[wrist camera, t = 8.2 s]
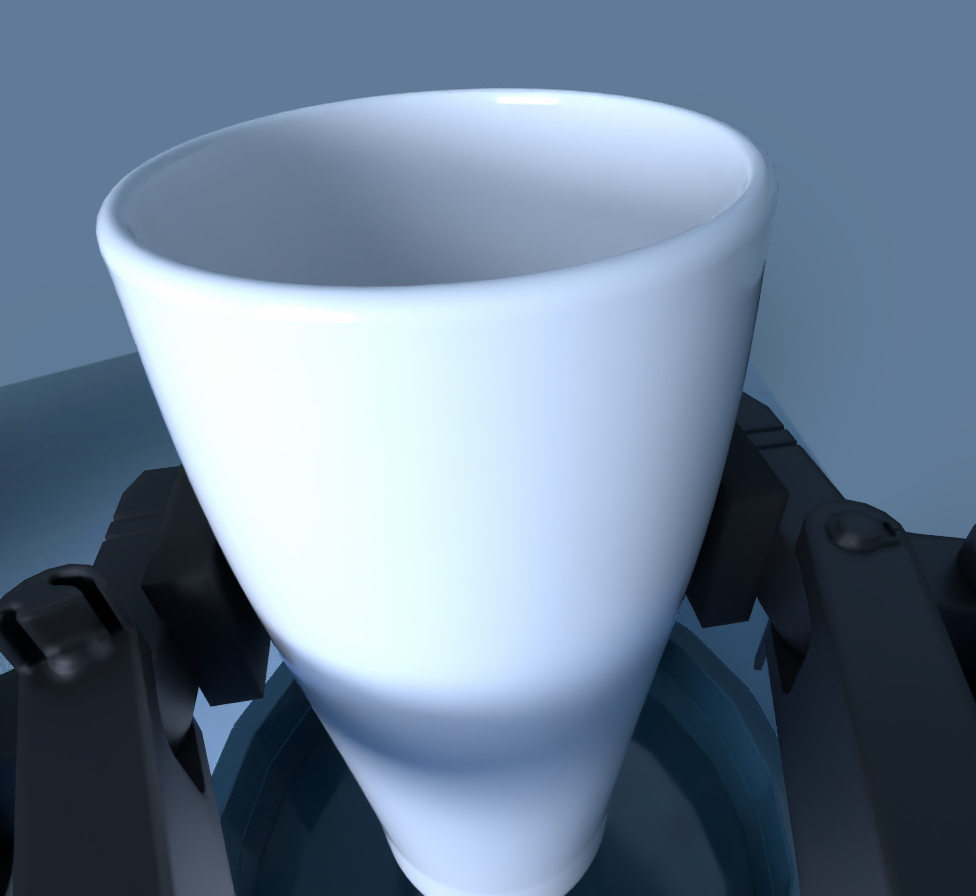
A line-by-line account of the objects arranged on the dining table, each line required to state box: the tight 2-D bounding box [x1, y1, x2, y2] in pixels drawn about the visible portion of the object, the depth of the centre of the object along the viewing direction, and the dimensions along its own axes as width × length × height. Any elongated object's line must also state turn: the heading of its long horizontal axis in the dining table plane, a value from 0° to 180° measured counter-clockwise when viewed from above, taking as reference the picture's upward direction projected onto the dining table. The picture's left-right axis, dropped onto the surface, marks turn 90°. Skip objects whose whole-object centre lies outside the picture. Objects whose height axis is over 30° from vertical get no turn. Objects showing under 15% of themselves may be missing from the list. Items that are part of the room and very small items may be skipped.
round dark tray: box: [211, 621, 801, 896], centre depth 17 cm, size 14×14×4 cm
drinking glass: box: [96, 88, 778, 896], centre depth 11 cm, size 7×7×15 cm
